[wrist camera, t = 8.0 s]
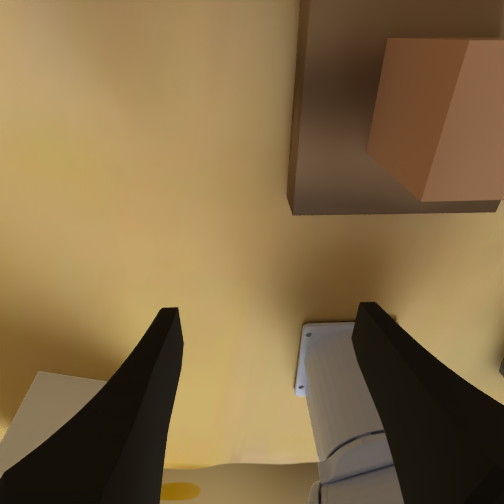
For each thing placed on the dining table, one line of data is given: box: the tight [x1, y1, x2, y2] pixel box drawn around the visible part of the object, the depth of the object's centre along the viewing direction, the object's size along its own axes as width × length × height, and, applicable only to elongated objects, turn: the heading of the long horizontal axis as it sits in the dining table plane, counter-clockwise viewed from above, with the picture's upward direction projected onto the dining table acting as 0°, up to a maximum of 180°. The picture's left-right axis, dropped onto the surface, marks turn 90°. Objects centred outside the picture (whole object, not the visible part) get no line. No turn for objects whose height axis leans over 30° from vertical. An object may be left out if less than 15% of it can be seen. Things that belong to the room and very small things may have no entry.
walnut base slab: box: [287, 0, 504, 215], centre depth 17 cm, size 12×12×2 cm
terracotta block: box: [366, 37, 504, 202], centre depth 13 cm, size 5×5×6 cm
